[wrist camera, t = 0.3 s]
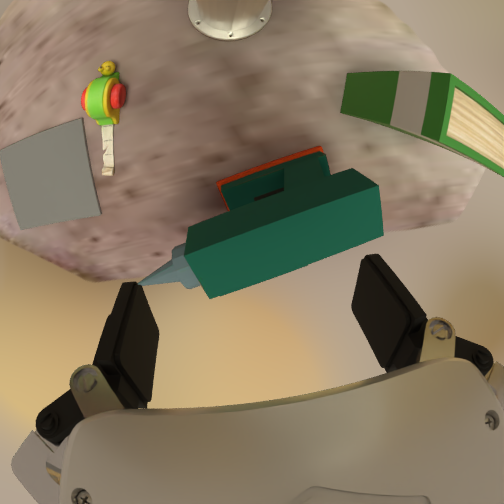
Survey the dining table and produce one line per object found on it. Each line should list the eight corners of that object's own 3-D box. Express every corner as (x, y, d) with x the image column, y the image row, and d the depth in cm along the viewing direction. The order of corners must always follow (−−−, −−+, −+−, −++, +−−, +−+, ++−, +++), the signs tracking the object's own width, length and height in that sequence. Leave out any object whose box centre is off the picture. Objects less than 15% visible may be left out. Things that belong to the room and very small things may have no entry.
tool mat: (0, 150, 32) (-1, 150, 32) (83, 117, 34) (81, 118, 34) (21, 228, 42) (20, 230, 42) (101, 213, 44) (100, 215, 43)
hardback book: (423, 103, 39) (521, 133, 19) (416, 137, 43) (510, 181, 22) (347, 73, 36) (450, 73, 16) (340, 112, 40) (439, 141, 19)
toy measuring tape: (132, 60, 31) (118, 55, 26) (126, 174, 41) (113, 186, 36) (96, 64, 30) (79, 61, 24) (93, 174, 40) (77, 186, 35)
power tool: (164, 243, 49) (143, 323, 32) (146, 212, 45) (112, 284, 28) (328, 182, 46) (387, 237, 30) (319, 145, 43) (382, 184, 26)
